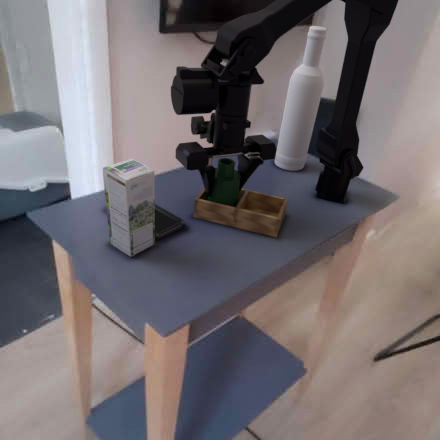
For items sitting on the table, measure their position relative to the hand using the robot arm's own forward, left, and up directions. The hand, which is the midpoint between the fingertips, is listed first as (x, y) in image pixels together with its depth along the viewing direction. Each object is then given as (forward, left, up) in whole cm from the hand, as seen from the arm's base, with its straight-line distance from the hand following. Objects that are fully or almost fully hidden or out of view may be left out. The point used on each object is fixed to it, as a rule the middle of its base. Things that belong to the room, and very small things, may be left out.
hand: (223, 193), depth 78 cm
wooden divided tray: (-4, 0, -4) cm, 6 cm away
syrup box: (+11, +18, -4) cm, 22 cm away
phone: (+13, +9, -4) cm, 16 cm away
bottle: (-9, -31, -4) cm, 33 cm away
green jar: (0, 0, -3) cm, 3 cm away
